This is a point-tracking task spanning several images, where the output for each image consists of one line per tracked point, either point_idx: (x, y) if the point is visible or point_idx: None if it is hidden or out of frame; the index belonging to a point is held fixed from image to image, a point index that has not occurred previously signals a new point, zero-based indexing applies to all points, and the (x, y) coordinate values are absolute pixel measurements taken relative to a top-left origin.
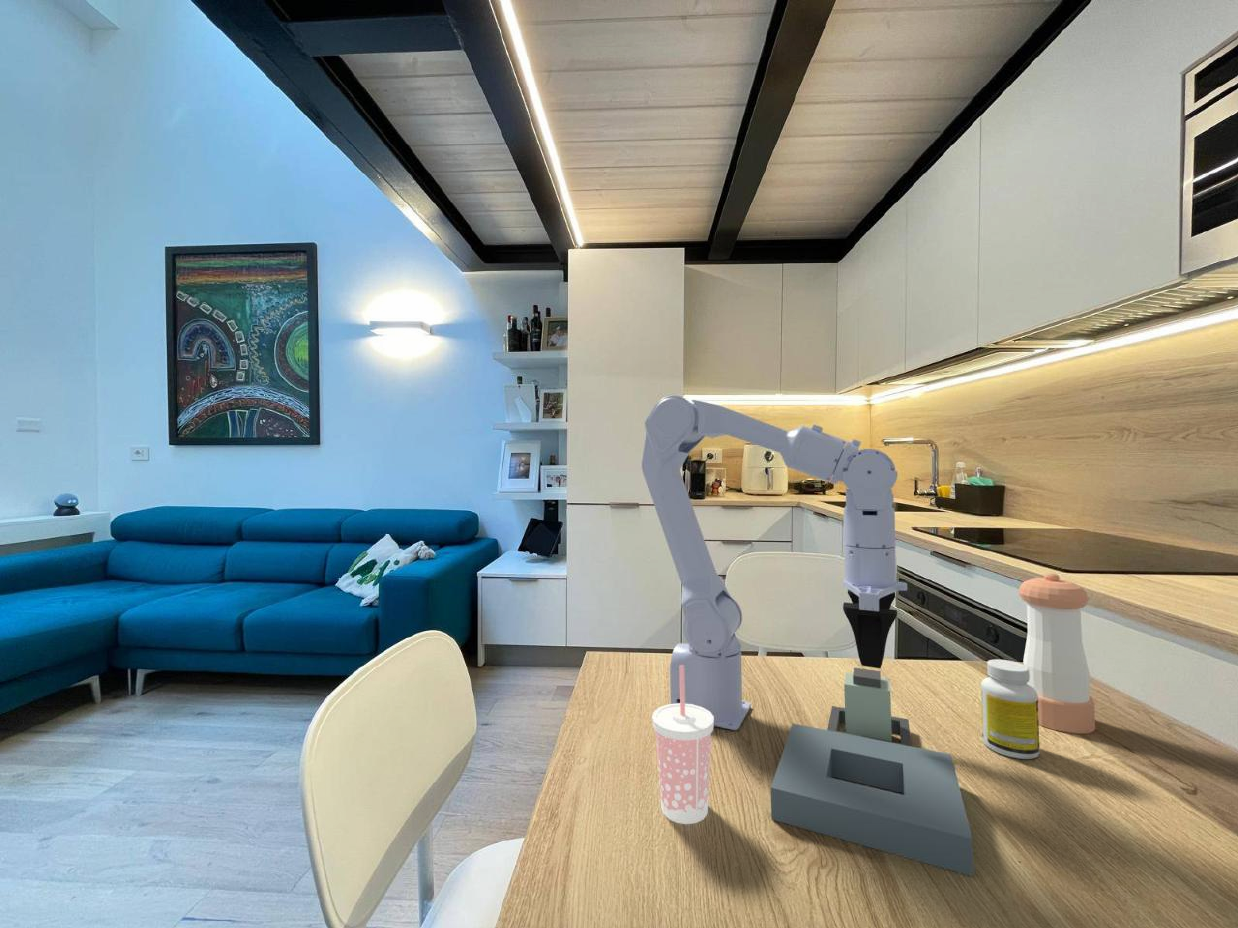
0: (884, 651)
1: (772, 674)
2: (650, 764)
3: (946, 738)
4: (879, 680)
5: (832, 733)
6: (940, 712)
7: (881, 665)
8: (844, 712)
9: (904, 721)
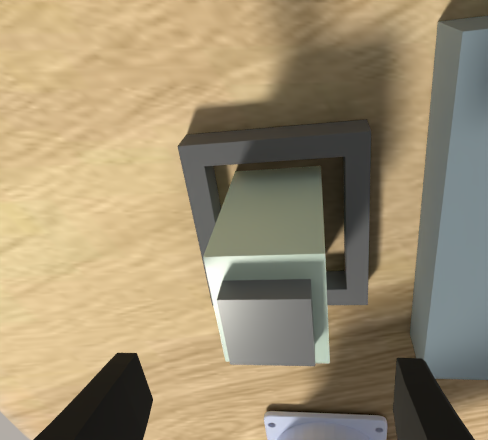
0: (463, 424)
1: None
2: None
3: (167, 40)
4: (310, 299)
5: (444, 311)
6: (3, 59)
7: (424, 365)
8: None
9: (197, 155)
